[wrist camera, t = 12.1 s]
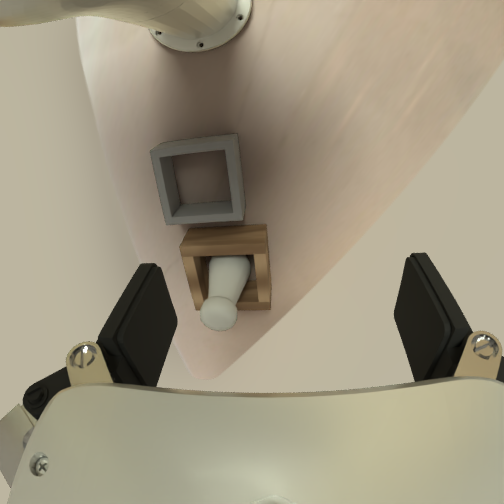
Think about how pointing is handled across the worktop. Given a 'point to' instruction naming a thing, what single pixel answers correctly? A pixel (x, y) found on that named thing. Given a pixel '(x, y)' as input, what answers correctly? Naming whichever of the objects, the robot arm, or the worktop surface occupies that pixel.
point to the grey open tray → (198, 211)
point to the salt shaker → (224, 290)
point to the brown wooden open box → (228, 243)
